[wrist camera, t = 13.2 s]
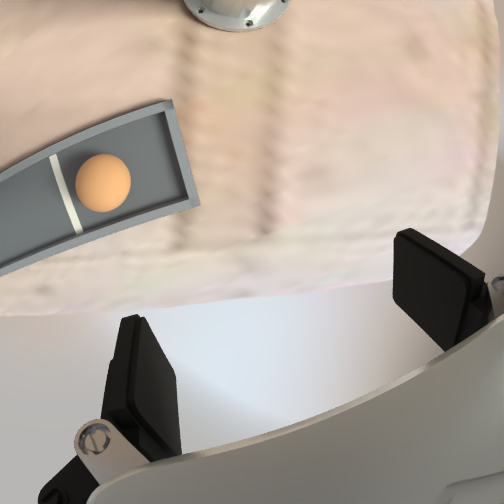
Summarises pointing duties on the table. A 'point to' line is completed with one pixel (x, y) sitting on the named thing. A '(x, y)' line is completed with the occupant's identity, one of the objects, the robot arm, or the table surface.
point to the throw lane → (64, 192)
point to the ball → (103, 183)
